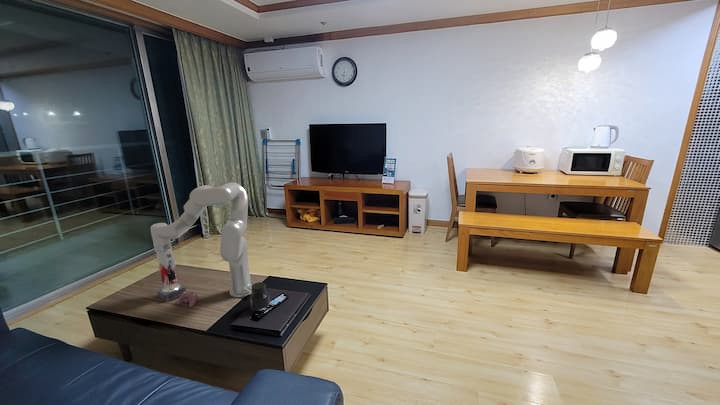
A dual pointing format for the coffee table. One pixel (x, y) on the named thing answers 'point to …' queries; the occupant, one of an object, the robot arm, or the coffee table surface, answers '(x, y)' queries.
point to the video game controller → (186, 296)
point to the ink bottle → (259, 296)
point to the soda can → (166, 276)
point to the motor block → (171, 291)
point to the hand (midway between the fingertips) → (169, 277)
